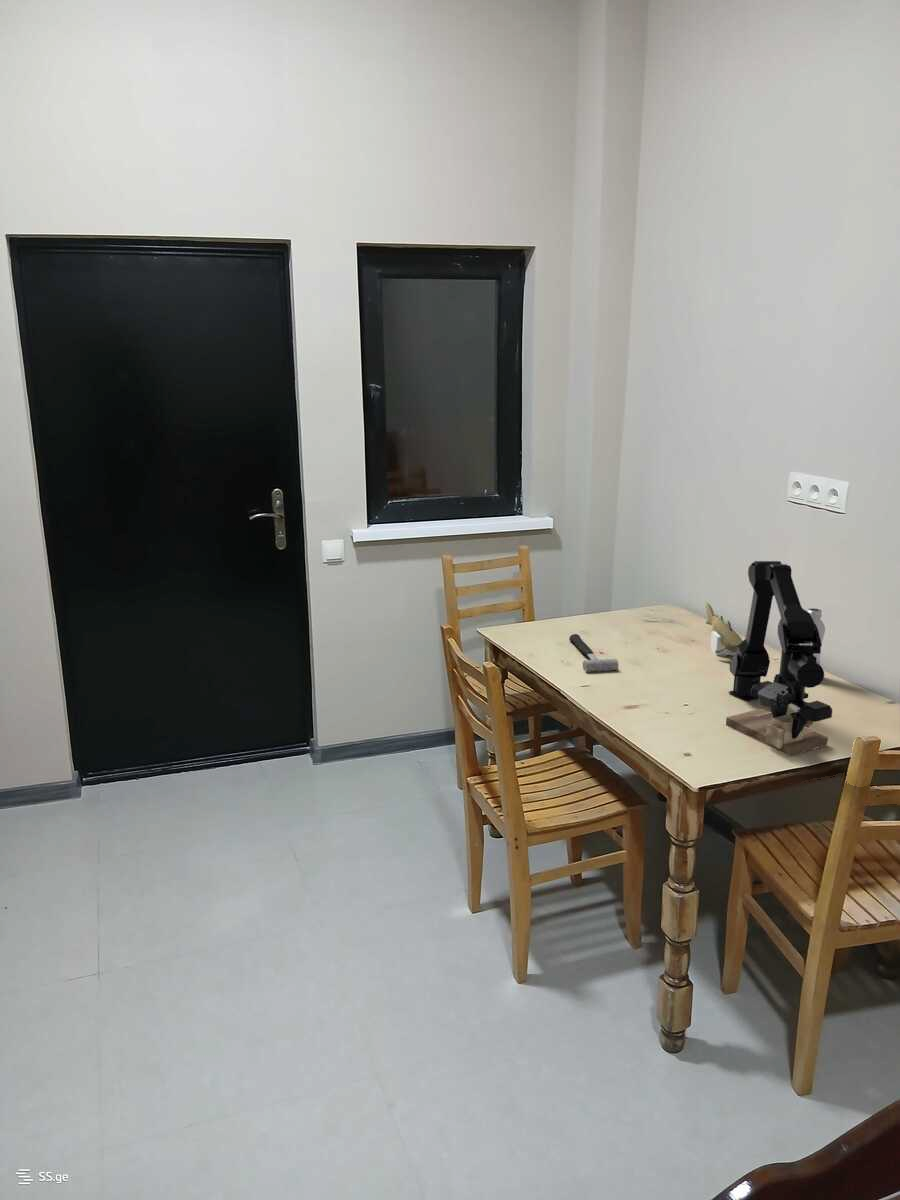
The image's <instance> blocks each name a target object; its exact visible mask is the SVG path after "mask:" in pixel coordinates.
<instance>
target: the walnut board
mask: <svg viewBox="0 0 900 1200" xmlns="http://www.w3.org/2000/svg"><path fill="white" fill-rule="evenodd" d="M772 718H773V715H772V712H771V711H768V710H767V709H764V708H758V709H754V710H750V711H747V712H742V713H738V714H734V715H729V716H727V717H726V718H725V725H726V726H727V727H729V728H732V729H733V730H736V731H737V732H740V733H742V734H743V735H745V736H746V735H747V736H748V737H750V738H753V739H754V740H756V741H758V742H760V743H762V744H765V745H767V746H768V747H771V748H773V749H775V750H776V751H779V752H781V753H783V754H785V755H787V756H789V757H793V756H795V755H799V754H802V753H801V752H803V753H805V752H804V751H806V752H809V751H808V750H810V751H812V749H813V750H815V749H814V748H817V747H820V748H822V747H821V746H824V747H826V746H825V745H827V746H828V743H829V742H828V740H829V737H827V736H825V735H823V734H820V733H819V732H817V731H814V730H813V729H809V728H808V727H806V726H805V727H804V729H803V738H802V740H799V741H795V742H791V743H788V744H784V745H782V748H780V749H779V748H777V747H775V746H772V745H770V744H768V743H766V732H767V725H768V724H772ZM817 749H818V748H817ZM798 753H799V754H798ZM792 755H793V756H792Z"/></svg>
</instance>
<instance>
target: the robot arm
mask: <svg viewBox="0 0 900 1200" xmlns="http://www.w3.org/2000/svg"><path fill="white" fill-rule="evenodd" d="M747 575H748V582H749V584H750V585H751V587H752V590H753V592H752V593H753V594H752V599H751V606H750V610H749V617H748V622H747V629H746V633H745V634H746V635H745V638H744V640H743V642H742V643H741V644H740V645H739V646H738V647H737V652H736V654H735V655H733V657H732V659H730V660H731V661H729V672H730V673H731V675H732V676H733V687H732V688H733V690H729V691H728V694H730V695H731V696H734V697H736V698H739V699H741V700H743V701H745V702H747V701H752V700H756V699H758V700H759V704H760V705H761V707H766V708H768V709H769V710H770V712H772V715H773V718H775V717H779V716H783V715H787V714H788V713H787V712H788V708H789V706H790V705H791V706H792V707H794V708H796V711H795V712H791V713H789V714H790V715H791V717H792V718H793V725H792V738H793V739H795V738H797V737H798V735H799V734H800V732H801V731H802V729H803V728H804V726H805V725H806V723H807V722H808V721H812V722H813V723H816V722H820V721H824V720H828V719H831V718H833V717H832V716H833V707H832V706H830V705H829V704H826V703H824V702H822V701H820V700H813V701H810V702H808V701H805V699H808V698H809V693H808V692H806V688H807V689H808V688H815V687H818V686H819V685H820V684H821V683H822V682H823V680H824V677H825V672H824V669H823V667H822V666H820V665H819V664H818V663H817V662H816V657H815V656H813V654H814V653H820V654H821V653H822V651H821V650H822V649H821V650H820V647H821V648H822V645H823V644H821V640H820V636H819V631H818V629H817V626H816V624H815V623H814V621H813V619H812V617H811V615H810V613H808V610H805V609H804V608H803V607H802V605H801V604H802V603H801V601H800V599H799V596H798V592H797V590H796V587H795V584H794V580H793V577H792V568H791V565H789V564H787V563H785V564H783V563H782V562H781V561H780V560H754V562H751V564H750V565H749V566H748V570H747ZM773 598H774V599H775V602H776V605H777V608H778V611H779V615H780V619H779V622H778V624H777V637H778V640H779V643H780V647H781V653H780V654H781V655H780V663H779V664H780V665H779V673H777V674H775V676H774V677H773V681H770V680H767V681H766V680H765V681H762V682H761V679H762V677H763V678H766V677H767V675H768V672H769V667H770V663H771V660H770V655H769V653H768V651H767V649H766V647H765V641H766V635H767V629H768V625H769V624H768V623H769V620H770V614H771V609H772V602H773ZM811 642H812V644H813V645H801V644H810V643H811ZM805 727H806V726H805Z"/></svg>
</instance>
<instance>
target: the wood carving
mask: <svg viewBox="0 0 900 1200" xmlns="http://www.w3.org/2000/svg"><path fill="white" fill-rule="evenodd" d="M705 608H706V620H705V624H706V625H710V626H712V631H711V634H710V635H711V636H710V637H711V638H710V650H711V652H712V653H713V654H714V655H715V656H717V657H718V656H721V657H722V656H727V655H730V656H734V655H735V654H736V652H737V647H738V646H739V645H740V644H741V643H742V642H743V641H744V640H743V639H742V638H741V636H740V635H739V634H738V633H737V632H736V631H735V630H734V629H733V628H732V625H731V624H732V623H731V622H730V621H729V620H727V622H725V621H724V619H723V615H720V616H719V614H715V612H714V609H713V607H712V605H711V604H710V603H709V602H708V601H706V602H705Z"/></svg>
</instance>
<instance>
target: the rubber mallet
mask: <svg viewBox="0 0 900 1200" xmlns="http://www.w3.org/2000/svg"><path fill="white" fill-rule="evenodd" d="M568 639H569V641H570V642H571V643H572V642H573V643H572V644H574V646H575V647H577V648H578V649H579V651H580V652H581V653H582V654H583V655H585V656H586V657H587V658H589V659H585V660H583V663H582V670H583V669H584V670H585V671H586V672H585V671H584V670H583V671H584V672H585V673H592V672H591V671H600V672H612V671H611V670H619V661H618V660H619V659H617V658H604V659H602V658H601V659H600V658H598V657H597V656H596V655H595V652H593V650H592V649H591V648H590V646H589V645H587V644H586V642H585V641H584V640H583V639H582V638H581V636H580V635H579V634H577V633H574V634H571V635H570V636H569V638H568Z"/></svg>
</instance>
